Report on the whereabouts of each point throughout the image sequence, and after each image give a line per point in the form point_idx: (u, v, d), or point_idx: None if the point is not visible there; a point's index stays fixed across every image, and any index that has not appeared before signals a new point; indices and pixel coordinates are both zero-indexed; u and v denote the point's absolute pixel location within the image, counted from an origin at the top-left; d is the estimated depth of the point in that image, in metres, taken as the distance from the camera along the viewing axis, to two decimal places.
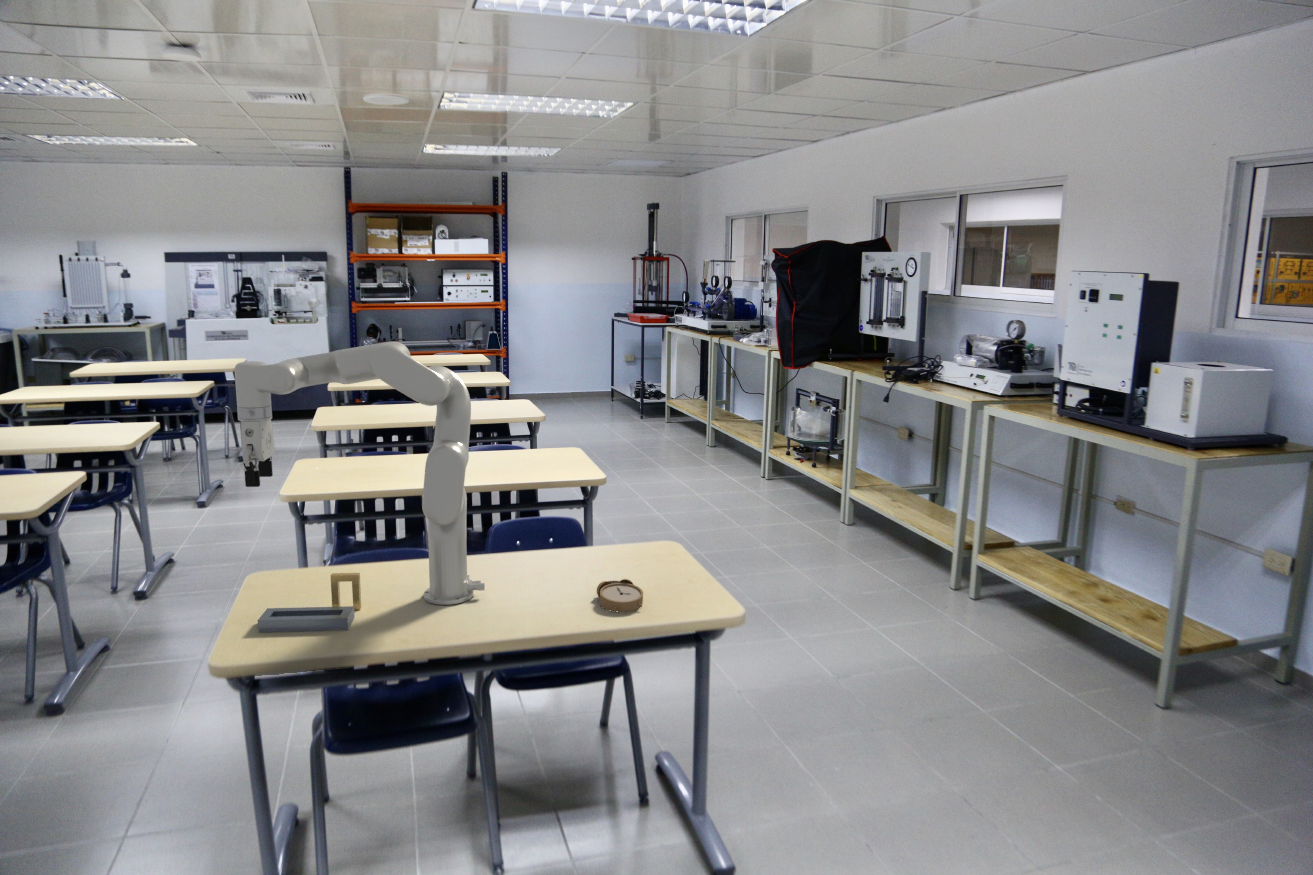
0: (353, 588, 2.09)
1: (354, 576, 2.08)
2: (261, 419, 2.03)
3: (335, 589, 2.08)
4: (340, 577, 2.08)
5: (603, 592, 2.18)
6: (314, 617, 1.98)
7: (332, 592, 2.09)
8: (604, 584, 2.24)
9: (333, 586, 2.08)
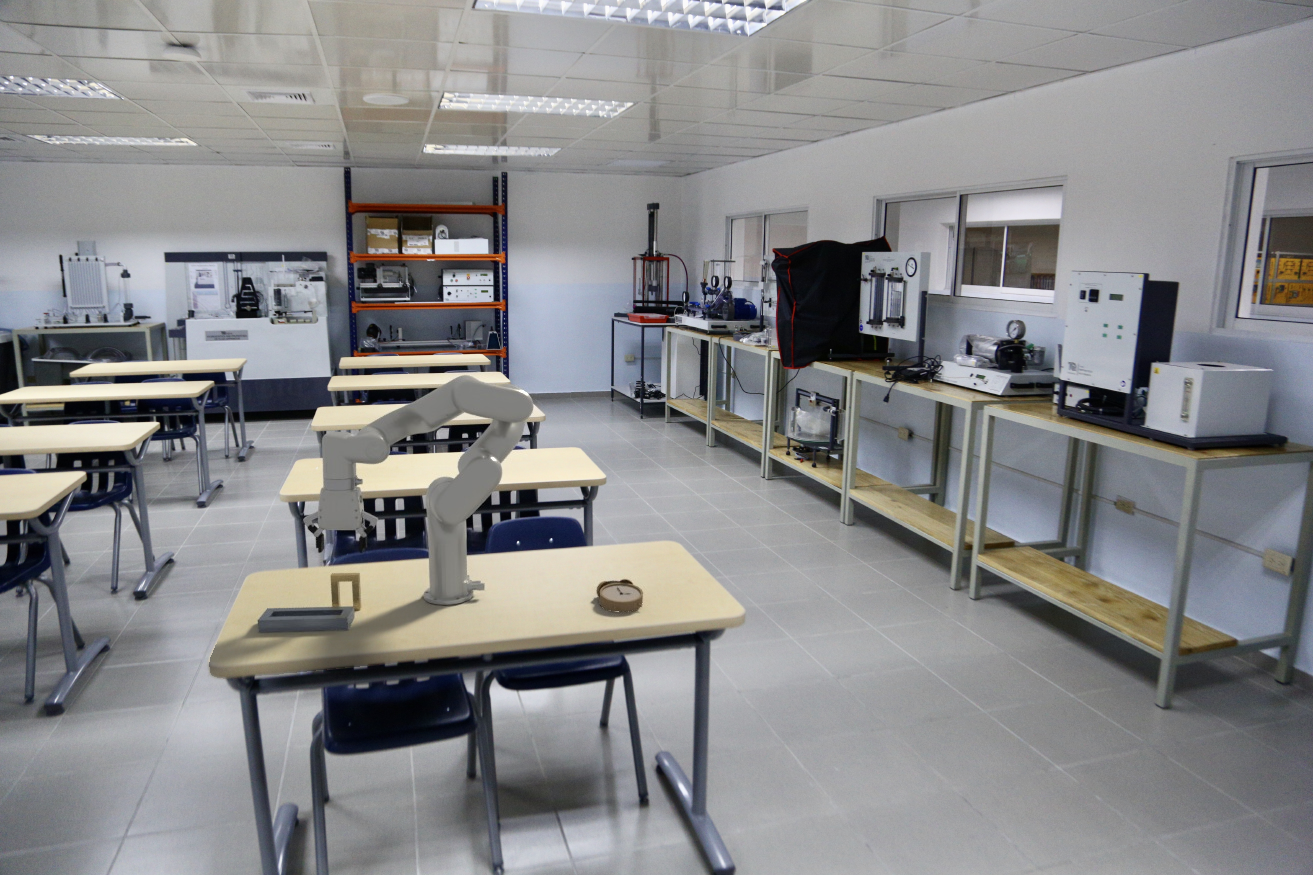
0: (353, 588, 2.09)
1: (354, 576, 2.08)
2: None
3: (335, 589, 2.08)
4: (340, 577, 2.08)
5: (603, 592, 2.18)
6: (314, 617, 1.98)
7: (332, 592, 2.08)
8: (604, 584, 2.24)
9: (333, 586, 2.08)
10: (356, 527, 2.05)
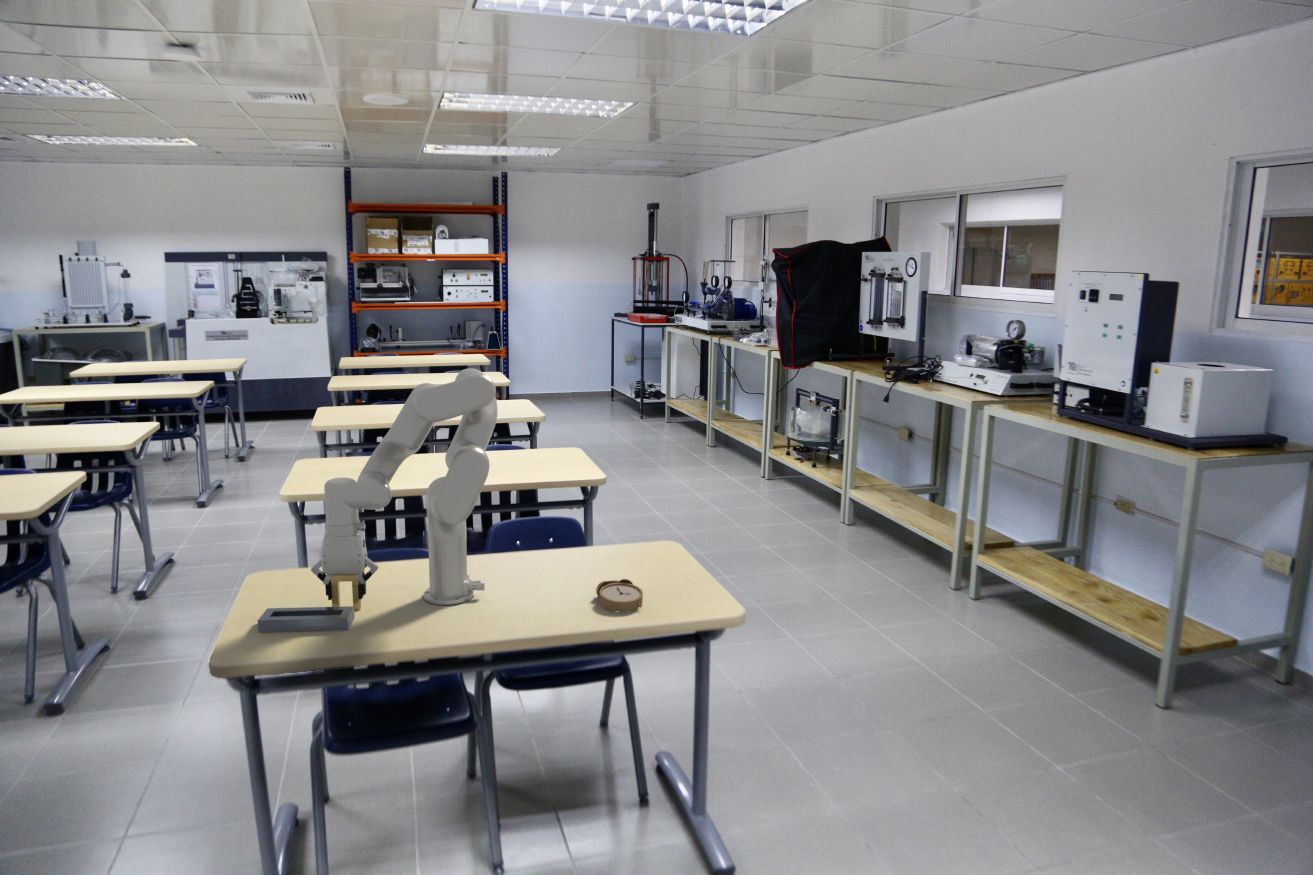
0: (353, 588, 2.09)
1: (354, 576, 2.08)
2: None
3: (335, 589, 2.08)
4: (340, 577, 2.08)
5: (603, 592, 2.18)
6: (314, 617, 1.98)
7: (332, 592, 2.09)
8: (604, 584, 2.24)
9: (333, 586, 2.08)
10: (360, 571, 2.07)
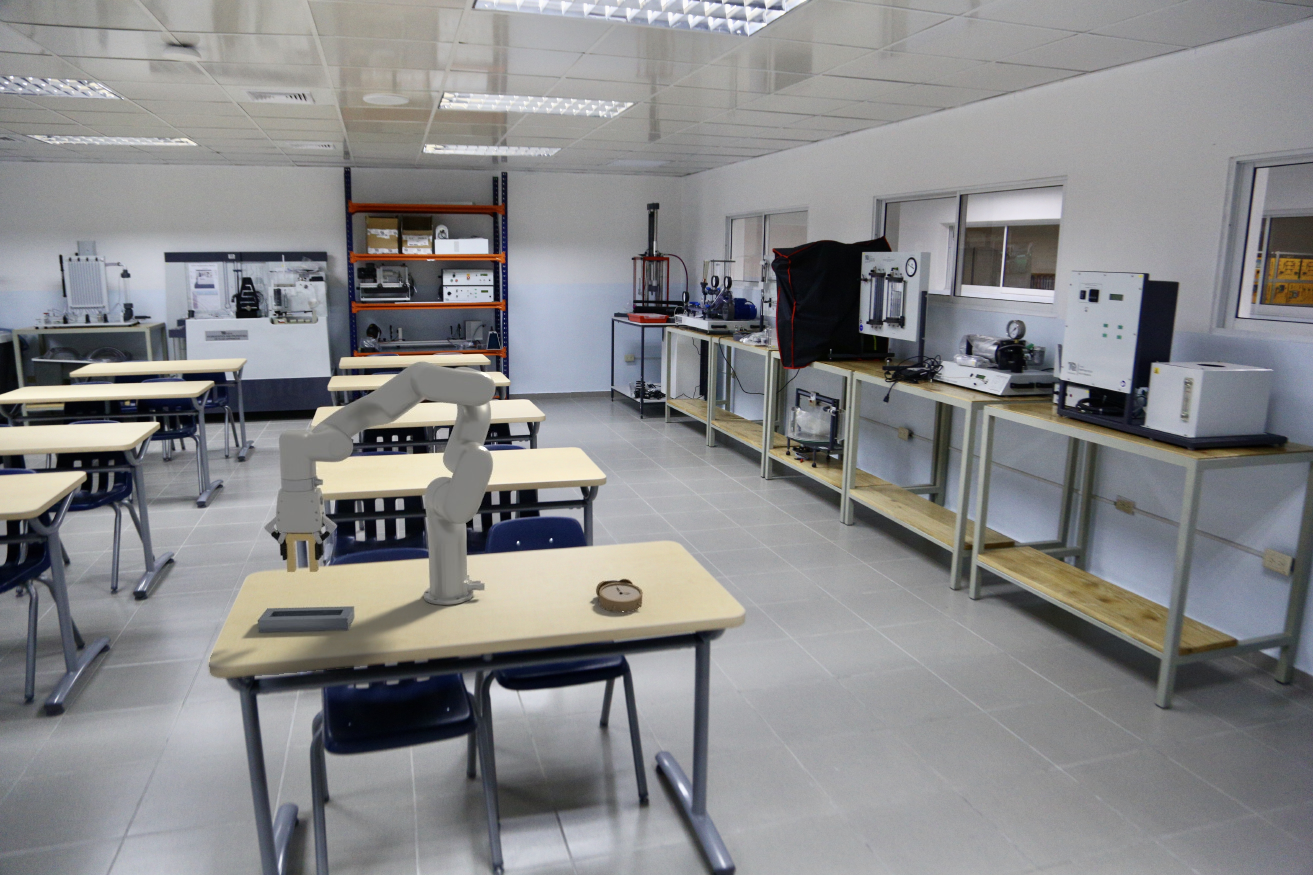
0: (309, 548, 1.97)
1: (311, 535, 1.96)
2: None
3: (290, 549, 1.96)
4: (296, 535, 1.96)
5: (602, 592, 2.18)
6: (314, 617, 1.98)
7: (287, 552, 1.96)
8: (603, 584, 2.24)
9: (288, 546, 1.96)
10: (316, 530, 1.95)
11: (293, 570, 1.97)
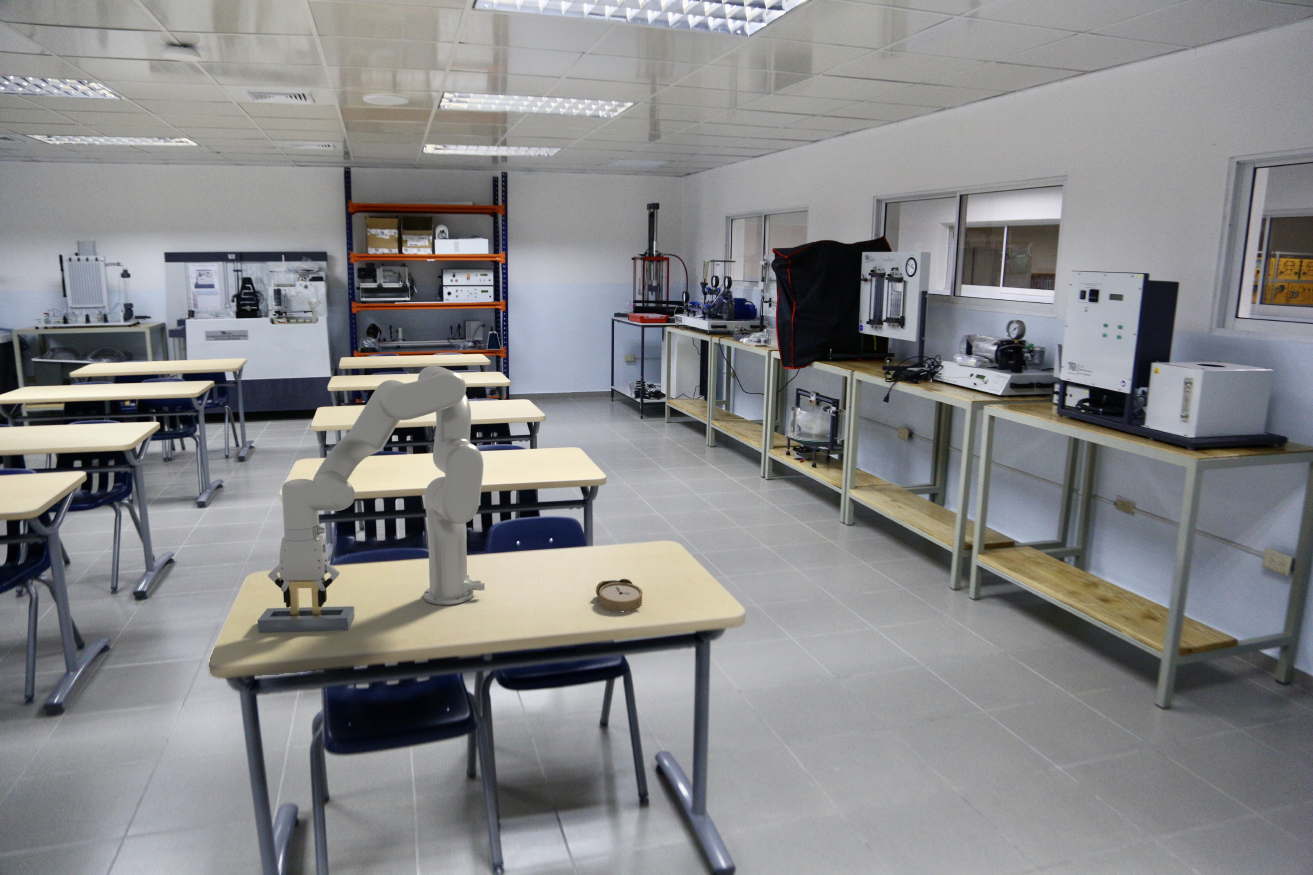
0: (313, 595, 1.99)
1: (314, 582, 1.98)
2: None
3: (293, 596, 1.98)
4: (299, 583, 1.98)
5: (602, 592, 2.18)
6: (314, 617, 1.98)
7: (290, 599, 1.98)
8: (603, 584, 2.24)
9: (292, 593, 1.98)
10: (319, 578, 1.97)
11: None
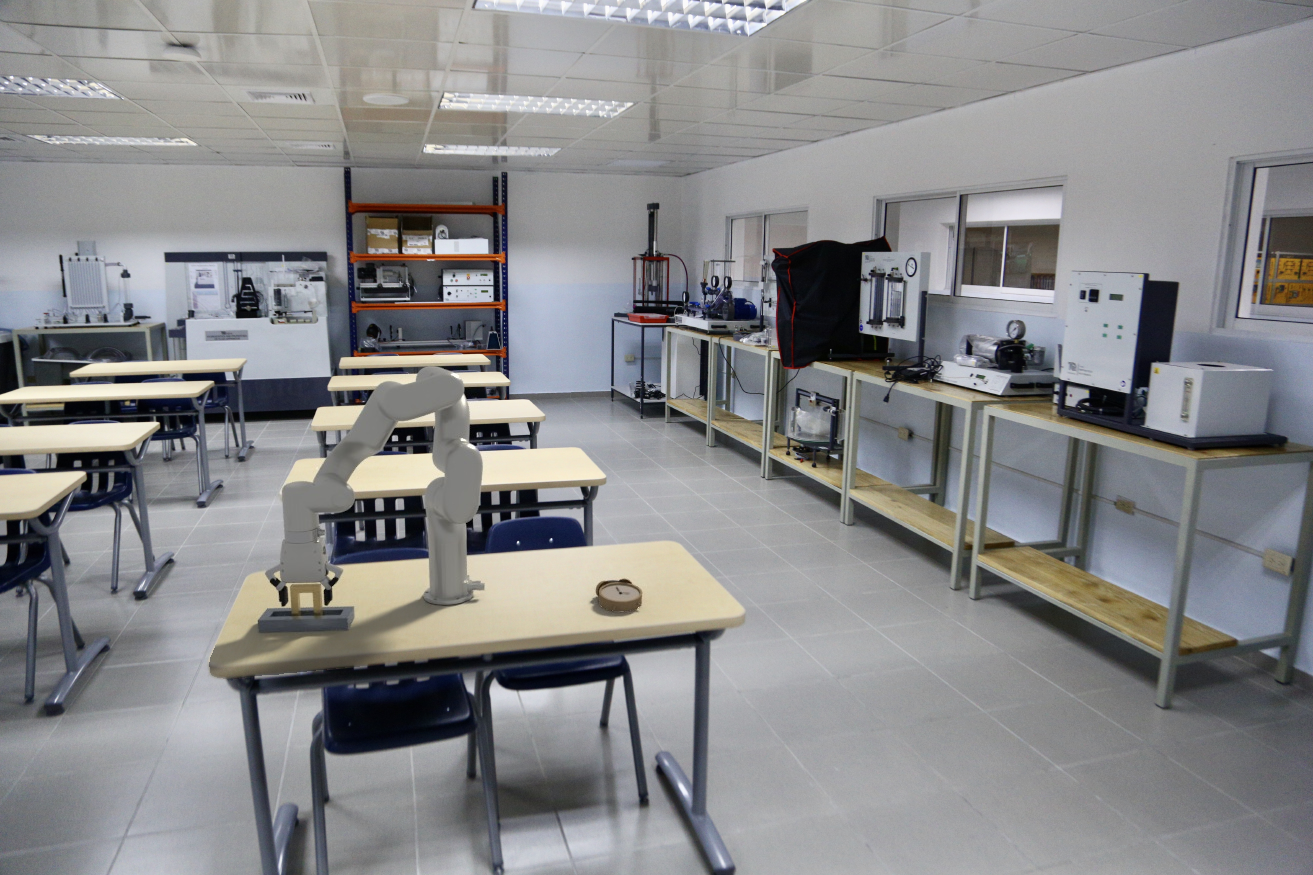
0: (314, 600, 1.99)
1: (315, 587, 1.99)
2: None
3: (295, 601, 1.99)
4: (300, 588, 1.98)
5: (602, 592, 2.18)
6: (314, 617, 1.98)
7: (292, 604, 1.99)
8: (603, 584, 2.24)
9: (293, 598, 1.99)
10: (320, 580, 1.97)
11: None
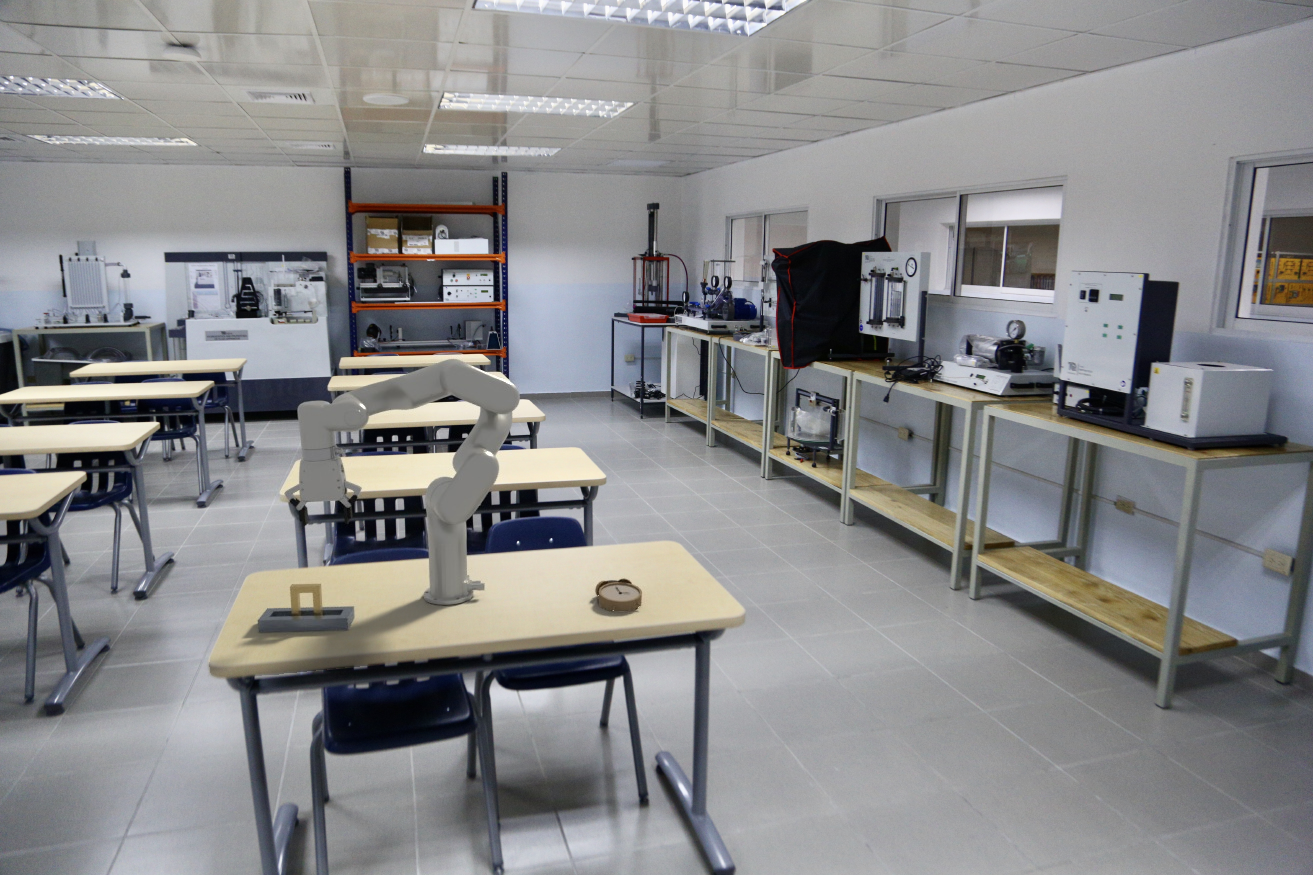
0: (314, 600, 1.99)
1: (315, 587, 1.99)
2: None
3: (295, 601, 1.99)
4: (300, 588, 1.98)
5: (602, 591, 2.19)
6: (314, 617, 1.98)
7: (292, 604, 1.99)
8: (603, 583, 2.24)
9: (293, 598, 1.99)
10: (339, 497, 2.00)
11: None
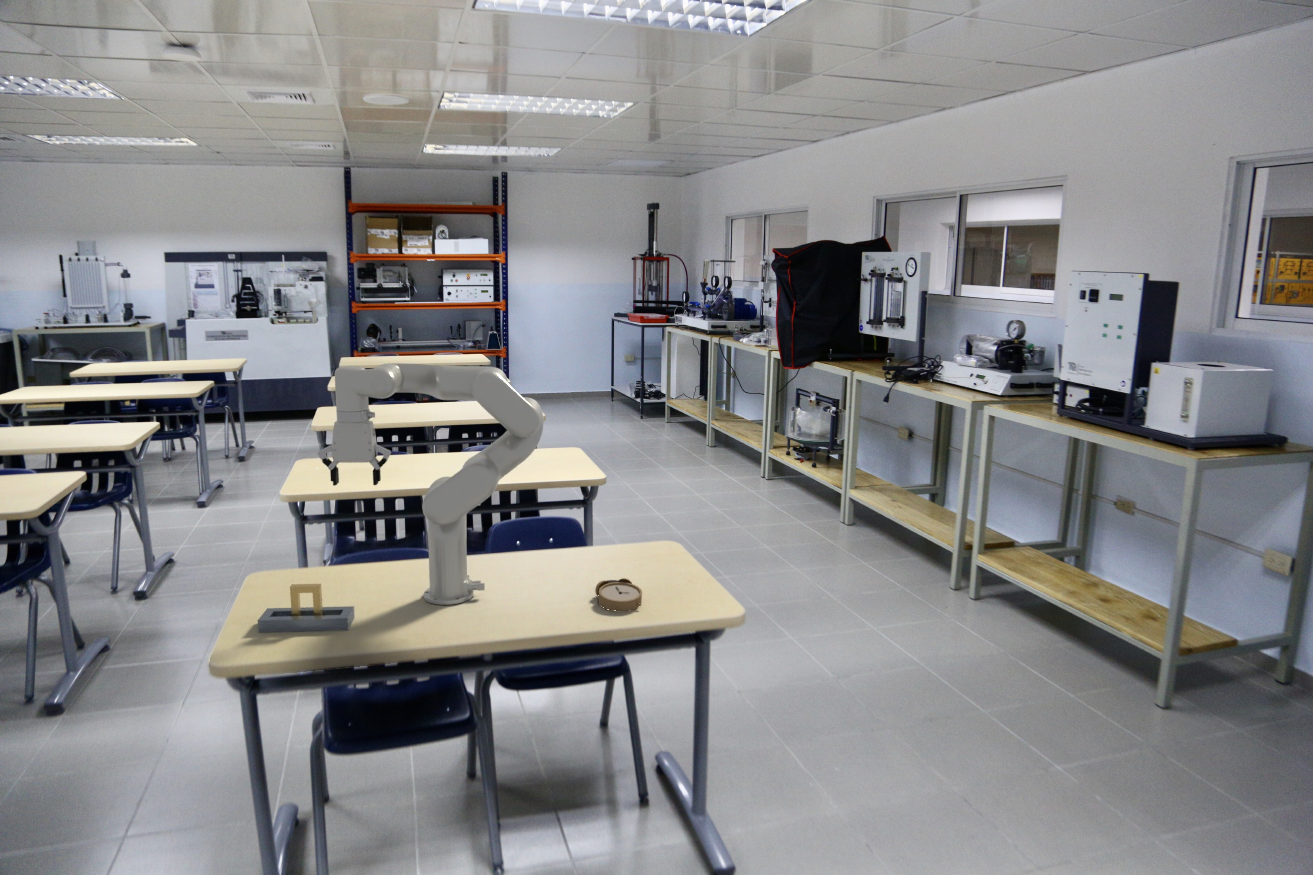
0: (314, 600, 1.99)
1: (315, 587, 1.99)
2: None
3: (295, 601, 1.99)
4: (300, 588, 1.98)
5: (602, 591, 2.19)
6: (314, 617, 1.98)
7: (292, 604, 1.99)
8: (603, 583, 2.24)
9: (293, 598, 1.99)
10: (370, 459, 2.09)
11: None
